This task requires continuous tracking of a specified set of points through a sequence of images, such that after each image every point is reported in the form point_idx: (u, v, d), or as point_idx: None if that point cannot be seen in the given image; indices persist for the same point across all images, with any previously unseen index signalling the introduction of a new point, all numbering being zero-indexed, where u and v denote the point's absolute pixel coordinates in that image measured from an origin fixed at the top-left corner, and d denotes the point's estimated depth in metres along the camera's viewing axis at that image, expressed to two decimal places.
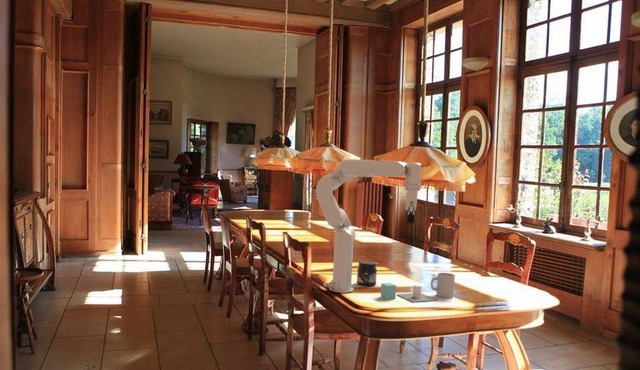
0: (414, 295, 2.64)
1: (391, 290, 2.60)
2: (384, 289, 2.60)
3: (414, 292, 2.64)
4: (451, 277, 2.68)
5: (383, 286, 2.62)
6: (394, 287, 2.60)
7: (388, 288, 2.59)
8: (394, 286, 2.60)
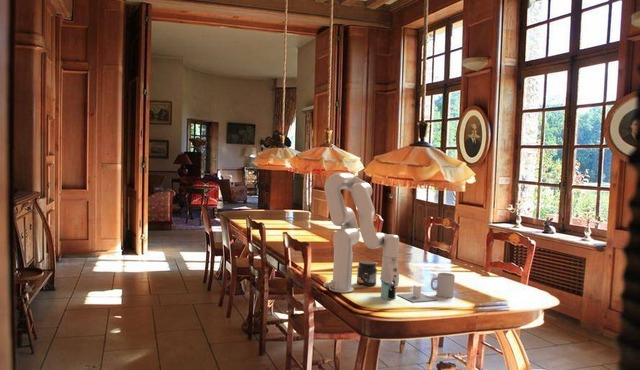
0: (414, 295, 2.64)
1: None
2: (384, 289, 2.60)
3: (414, 292, 2.64)
4: (451, 277, 2.68)
5: (383, 286, 2.62)
6: None
7: (388, 288, 2.59)
8: None
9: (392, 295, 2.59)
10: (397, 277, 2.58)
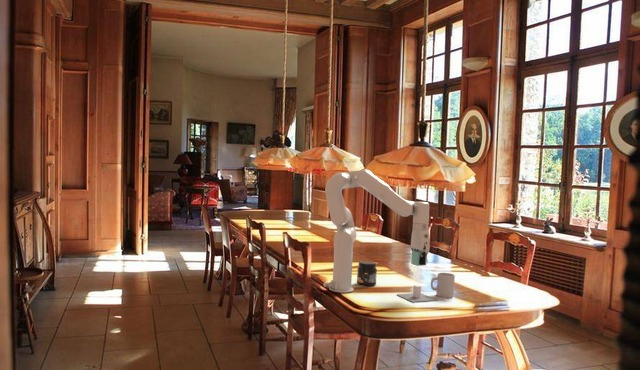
0: (414, 295, 2.64)
1: None
2: (415, 255, 2.62)
3: (414, 292, 2.64)
4: (451, 277, 2.68)
5: (414, 253, 2.63)
6: None
7: (419, 255, 2.60)
8: None
9: (423, 262, 2.60)
10: (428, 243, 2.59)
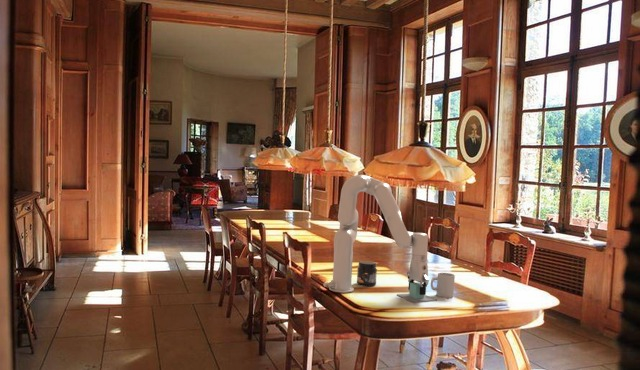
0: None
1: None
2: (413, 288, 2.62)
3: None
4: (451, 277, 2.68)
5: (412, 285, 2.64)
6: None
7: (417, 287, 2.61)
8: None
9: (423, 292, 2.59)
10: (426, 275, 2.60)
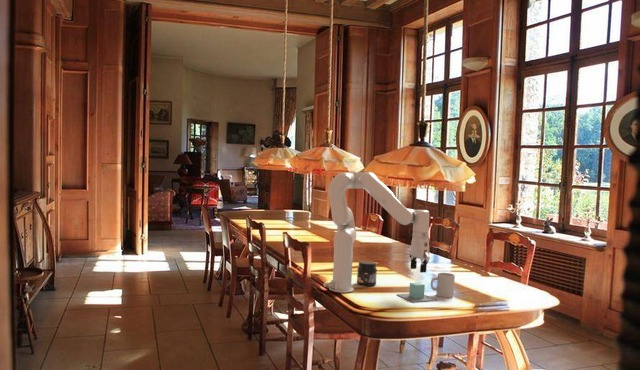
0: None
1: (420, 289, 2.62)
2: (413, 288, 2.62)
3: None
4: (451, 277, 2.68)
5: (412, 285, 2.64)
6: (423, 286, 2.63)
7: (417, 287, 2.61)
8: (423, 285, 2.63)
9: (424, 269, 2.59)
10: (427, 252, 2.59)
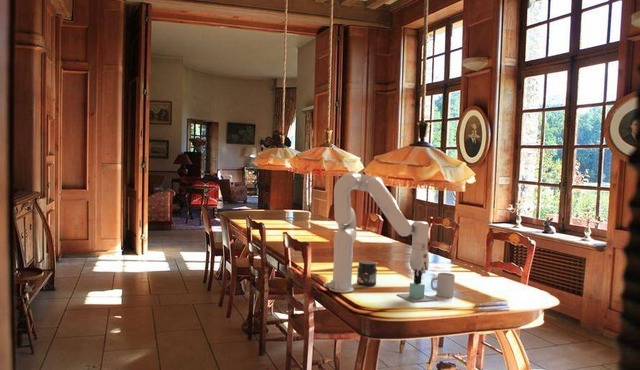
0: None
1: (420, 289, 2.62)
2: (413, 288, 2.62)
3: None
4: (451, 277, 2.68)
5: (412, 285, 2.64)
6: (423, 286, 2.63)
7: (417, 287, 2.61)
8: (423, 285, 2.63)
9: (419, 280, 2.63)
10: (427, 263, 2.60)
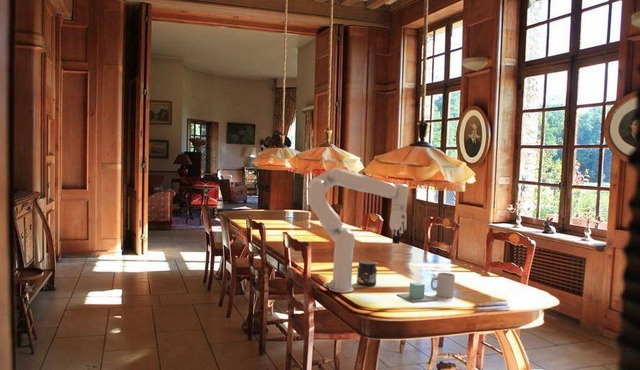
0: None
1: (420, 289, 2.62)
2: (413, 288, 2.62)
3: None
4: (451, 277, 2.68)
5: (412, 285, 2.64)
6: (423, 286, 2.63)
7: (417, 287, 2.61)
8: (423, 285, 2.63)
9: (397, 240, 2.75)
10: (405, 224, 2.72)
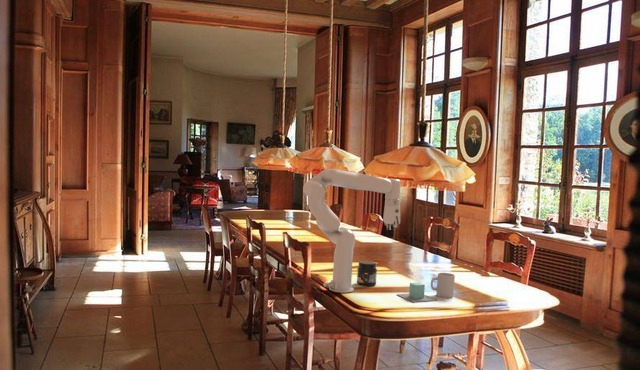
0: None
1: (420, 289, 2.62)
2: (413, 288, 2.62)
3: None
4: (451, 277, 2.68)
5: (412, 285, 2.64)
6: (423, 286, 2.63)
7: (417, 287, 2.61)
8: (423, 285, 2.63)
9: (391, 234, 2.79)
10: (399, 218, 2.76)
